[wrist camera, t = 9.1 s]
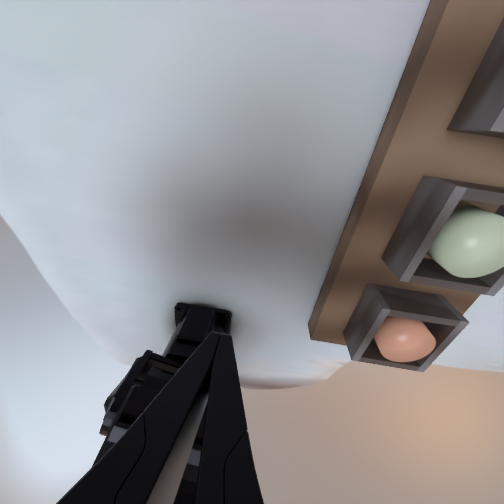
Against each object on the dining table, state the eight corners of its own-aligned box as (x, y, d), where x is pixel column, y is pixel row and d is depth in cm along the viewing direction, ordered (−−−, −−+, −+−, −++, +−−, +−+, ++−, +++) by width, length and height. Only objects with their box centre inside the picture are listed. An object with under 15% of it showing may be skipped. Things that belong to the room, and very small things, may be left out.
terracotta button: (401, 336, 21) (419, 365, 18) (360, 329, 21) (372, 357, 18) (423, 305, 19) (446, 334, 16) (377, 298, 19) (393, 325, 16)
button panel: (413, 342, 24) (443, 388, 20) (308, 324, 25) (314, 366, 20) (715, -41, 10) (1039, -165, 6) (459, -74, 10) (589, -217, 6)
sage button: (458, 257, 16) (492, 282, 14) (405, 249, 16) (429, 272, 14) (495, 207, 14) (544, 224, 12) (434, 197, 14) (469, 213, 12)
